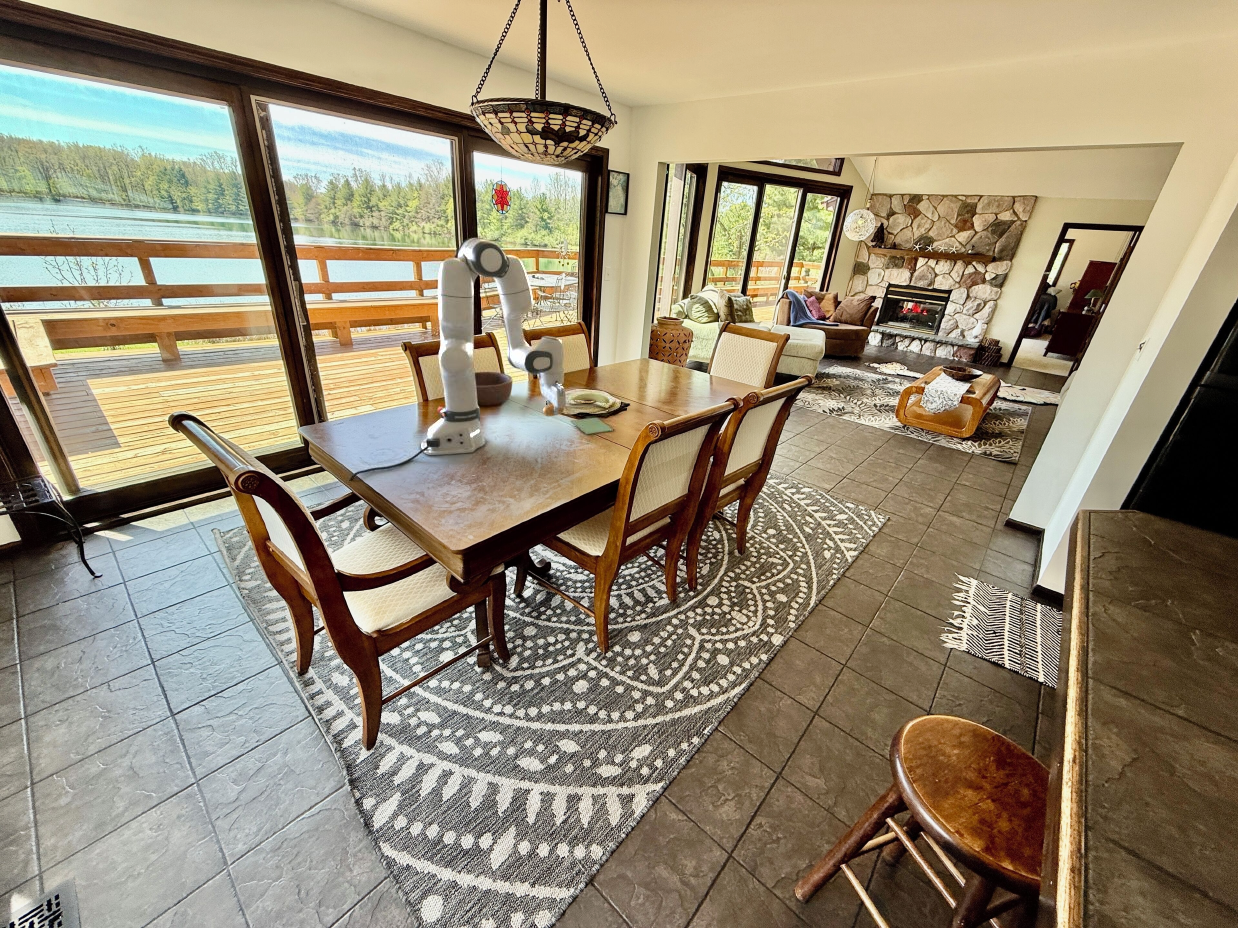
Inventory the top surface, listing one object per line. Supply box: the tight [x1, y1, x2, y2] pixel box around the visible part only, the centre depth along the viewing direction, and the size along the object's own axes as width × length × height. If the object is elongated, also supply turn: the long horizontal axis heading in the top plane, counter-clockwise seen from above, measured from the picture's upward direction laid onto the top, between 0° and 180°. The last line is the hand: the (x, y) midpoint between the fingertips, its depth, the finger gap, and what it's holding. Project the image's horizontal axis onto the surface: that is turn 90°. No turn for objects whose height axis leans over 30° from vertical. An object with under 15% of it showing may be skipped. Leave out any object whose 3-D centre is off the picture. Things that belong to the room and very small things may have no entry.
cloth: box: [571, 417, 614, 435], centre depth 202 cm, size 12×16×1 cm
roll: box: [542, 404, 565, 418], centre depth 195 cm, size 9×4×4 cm, turn 129°
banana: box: [569, 392, 610, 413], centre depth 223 cm, size 14×6×20 cm
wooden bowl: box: [474, 371, 513, 407], centre depth 223 cm, size 25×25×10 cm
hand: (553, 411), depth 195 cm, fingers closed on roll, 5 cm apart
